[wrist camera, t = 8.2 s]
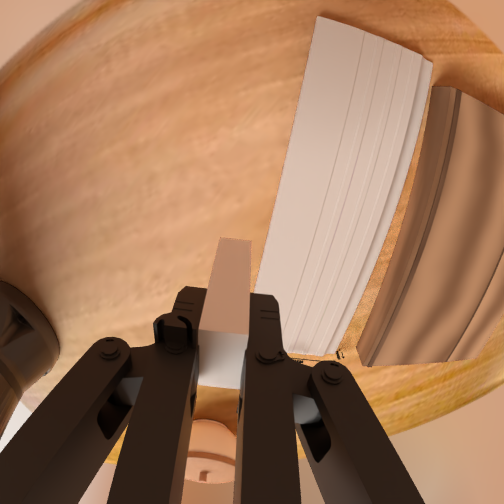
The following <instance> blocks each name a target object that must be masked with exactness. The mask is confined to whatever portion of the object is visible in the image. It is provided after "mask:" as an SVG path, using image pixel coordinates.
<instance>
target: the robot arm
mask: <svg viewBox="0 0 504 504" xmlns="http://www.w3.org/2000/svg"><path fill="white" fill-rule="evenodd" d="M250 272H251V241H249V240H240V239H231V238H222V237H220V240H219V244H218V248H217V252H216V256H215V260H214V264H213V268H212V273H211V277H210V281H209V285H208V289H206V288H198V287H190V286H185V287H184V288H183V289H182V290H181V291H180V292H178V295H177V298H176V300H175V303H174V306H173V309H172V312H171V313H167V314H163V315H161V316H159V317H158V318H156V320H155V321H154V323H153V328H154V337H155V343H154V344H152V345H149V346H144V347H132V348H130V347H129V345H128V344H127V342H125V341H124V340H122V339H121V338H116V337H106V338H103V339H100V340H98V341H97V342H95V343H94V344H93V345H92V346H91V347H90V348H89V349H88V351H87V352H86V353H85V354H84V355H83V356H82V357H81V358H80V359H79V360H78V362H77V363H76V364H75V365H74V366H73V367H72V368H71V369H70V370H69V372H68V373H67V374H66V375H65V376H64V377H63V378H62V379H61V381H60V382H59V383H58V384H57V385H56V386H55V387H54V389H53V390H52V391H51V392H50V393H49V394H48V396H47V397H46V398H45V399H44V400H43V401H42V403H41V404H40V405H39V406H38V407H37V408H36V410H35V411H34V412H33V413H32V414H31V416H30V417H29V418H28V419H27V420H26V422H25V423H24V424H23V425H22V427H21V428H20V429H19V430H18V431H17V433H16V434H15V435H14V437H13V438H12V439H11V440H10V442H9V443H8V444H7V445H6V446H5V448H4V449H3V450H2V452H1V453H0V504H78V502H79V501H80V499H81V498H82V496H83V494H84V493H85V491H86V490H87V488H88V486H89V485H90V483H91V482H92V480H93V479H94V477H95V475H96V473H97V472H98V471H99V469H100V467H101V466H102V464H103V463H104V461H105V460H106V458H107V456H108V455H109V453H110V452H111V450H112V448H113V447H114V445H115V444H116V442H117V441H118V439H119V437H120V436H121V434H122V433H123V431H124V430H125V428H126V427H127V425H128V427H127V431H126V434H125V437H124V441H123V444H122V448H121V451H120V455H119V458H118V462H117V466H116V469H115V473H114V477H113V481H112V484H111V488H110V492H109V496H108V500H107V504H181V500H182V492H183V485H184V477H185V470H186V463H187V456H188V450H189V443H190V436H191V430H192V423H193V417H194V411H195V404H196V398H197V383H198V385H204V386H212V387H221V388H231V389H240V395H239V401H238V407H237V413H238V419H237V438H236V457H235V477H234V498H233V499H234V500H233V504H301V492H300V478H299V467H298V453H297V442H296V431H297V434H298V436H299V439H300V441H301V444H302V447H303V449H304V452H305V454H306V457H307V459H308V462H309V464H310V467H311V469H312V472H313V474H314V477H315V479H316V482H317V484H318V487H319V489H320V492H321V494H322V497H323V499H324V502H325V504H425V503H424V501H423V499H422V497H421V495H420V494H419V492H418V490H417V488H416V486H415V484H414V482H413V481H412V479H411V477H410V475H409V473H408V472H407V470H406V468H405V466H404V465H403V463H402V461H401V459H400V457H399V455H398V454H397V452H396V450H395V448H394V447H393V445H392V443H391V441H390V440H389V438H388V436H387V434H386V433H385V431H384V429H383V427H382V426H381V424H380V422H379V420H378V419H377V417H376V415H375V413H374V412H373V410H372V408H371V406H370V405H369V403H368V401H367V400H366V398H365V396H364V394H363V393H362V391H361V389H360V388H359V386H358V384H357V383H356V381H355V379H354V377H353V376H352V374H351V372H350V371H349V370H348V369H347V368H346V367H345V366H344V365H342V364H341V363H339V362H335V361H321V362H319V363H317V364H316V365H315V366H314V367H310V366H307V365H303V364H301V363H298V362H296V361H294V360H293V359H291V358H290V357H289V356H288V355H287V352H286V351H285V350H284V348H283V340H282V330H281V321H280V310H279V303H278V301H277V300H276V299H275V297H274V296H273V295H268V294H258V293H250ZM58 357H59V344H58V341H57V338H56V335H55V333H54V331H53V329H52V327H51V326H50V324H49V322H48V321H47V319H46V318H45V317H44V315H43V314H42V313H41V311H40V310H39V309H38V308H37V307H36V306H35V304H34V303H33V302H32V301H31V300H30V299H29V298H27V297H26V296H25V295H24V294H23V293H22V292H20V291H19V290H18V289H16V288H15V287H13V286H11V285H9V284H7V283H5V282H2V281H0V439H1V437H2V435H3V433H4V430H5V429H6V426H7V424H8V422H9V420H10V418H11V416H12V414H13V412H14V410H15V408H16V406H17V404H18V402H19V400H20V399H21V397H22V395H23V393H24V392H25V391H26V390H27V389H28V388H30V387H31V386H32V385H33V384H34V383H35V382H36V381H38V380H39V379H40V378H41V377H42V376H45V375H46V374H48V373H49V372H50V371H51V370H52V368H53V366H54V365H55V363H56V361H57V360H58ZM128 423H129V424H128ZM295 429H296V430H295Z"/></svg>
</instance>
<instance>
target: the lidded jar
mask: <svg viewBox="0 0 504 504" xmlns="http://www.w3.org/2000/svg"><path fill="white" fill-rule="evenodd" d="M235 457H236V437H235V436H234V434H233V433H232V432H231V431H229V430H228V428H227V427H226V426H225V425H224V424H222V423H220V422H218V421H214V420H209V419H198V420H194V421H193V423H192V430H191V436H190V443H189V450H188V456H187V463H186V470H185V477H184V478H185V479H188V480H191V481H196V482H201V483H227V482H232V481H234V477H235Z"/></svg>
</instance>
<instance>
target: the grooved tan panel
mask: <svg viewBox="0 0 504 504" xmlns="http://www.w3.org/2000/svg"><path fill="white" fill-rule="evenodd" d="M503 314H504V115H503V114H502V113H500V112H498V111H497V110H495V109H493V108H491V107H490V106H488V105H486V104H484V103H483V102H481V101H479V100H477V99H475V98H473V97H471V96H469V95H467V94H465V93H463V92H462V91H460V90H458V89H455V88H453V87H445V86H432V91H431V98H430V105H429V111H428V117H427V123H426V128H425V134H424V139H423V144H422V149H421V153H420V158H419V162H418V167H417V171H416V175H415V179H414V183H413V187H412V191H411V195H410V199H409V202H408V206H407V210H406V213H405V216H404V220H403V223H402V227H401V230H400V233H399V236H398V239H397V243H396V246H395V249H394V252H393V255H392V258H391V261H390V263H389V266H388V269H387V272H386V275H385V277H384V280H383V283H382V286H381V288H380V291H379V293H378V296H377V299H376V301H375V304H374V306H373V309H372V311H371V314H370V316H369V318H368V321H367V323H366V326H365V328H364V330H363V333H362V335H361V337H360V339H359V342H358V344H357V346H356V349H357V352H358V354H359V357H360V360H361V363H362V366H367V367H372V366H390V365H411V364H426V363H438V362H449V361H459V360H468V359H476V358H477V357H478V355H479V354H480V352H481V351H482V349H483V348H484V346H485V344H486V343H487V341H488V340H489V338H490V336H491V335H492V333H493V331H494V330H495V328H496V326H497V324H498V323H499V321H500V319H501V317H502V316H503Z"/></svg>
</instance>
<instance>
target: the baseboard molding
mask: <svg viewBox="0 0 504 504" xmlns="http://www.w3.org/2000/svg"><path fill="white" fill-rule="evenodd" d="M432 68H433V63H432V62H430V61H428V60H426V59H425V58H424V57H423V56H422V55H420V54H418V53H416V52H414V51H411V50H409V49H407V48H405V47H403V46H401V45H399V44H396V43H393V42H391V41H389V40H386V39H384V38H382V37H380V36H376V35H374V34H371V33H368V32H366V31H364V30H361V29H358V28H355V27H353V26H350V25H347V24H343V23H340V22H337V21H334V20H331V19H327V18H324V17H320V16H317V18H316V23H315V27H314V32H313V36H312V41H311V46H310V50H309V55H308V59H307V64H306V69H305V73H304V78H303V82H302V87H301V91H300V96H299V100H298V104H297V109H296V113H295V118H294V122H293V127H292V131H291V135H290V140H289V144H288V149H287V153H286V157H285V162H284V166H283V170H282V175H281V179H280V183H279V187H278V192H277V196H276V200H275V205H274V209H273V213H272V217H271V222H270V226H269V230H268V234H267V238H266V243H265V247H264V251H263V255H262V259H261V264H260V268H259V272H258V276H257V280H256V284H255V288H254V293H258V294H268V295H273V296H274V297H275V299H276V300H277V301H278V303H279V310H280V321H281V330H282V340H283V348H284V350H285V351H286V352H287V353H299V354H303V355H306V354H308V355H316V356H324V355H325V354H328V353H330V354H335V352H336V350H337V348H338V346H339V344H340V342H341V340H342V338H343V336H344V333H345V331H346V329H347V327H348V325H349V323H350V321H351V319H352V317H353V315H354V312H355V310H356V308H357V306H358V304H359V301H360V299H361V297H362V295H363V292H364V290H365V288H366V285H367V283H368V281H369V278H370V276H371V273H372V271H373V269H374V266H375V264H376V261H377V259H378V256H379V254H380V251H381V248H382V246H383V243H384V241H385V238H386V235H387V233H388V230H389V227H390V224H391V221H392V219H393V216H394V213H395V210H396V207H397V204H398V201H399V198H400V195H401V192H402V189H403V186H404V183H405V179H406V176H407V173H408V169H409V166H410V163H411V159H412V156H413V152H414V148H415V145H416V141H417V137H418V133H419V129H420V125H421V121H422V117H423V112H424V108H425V104H426V99H427V94H428V89H429V84H430V79H431V74H432ZM336 354H337V358H338V359H340V356H339V353H338V352H337V353H336ZM342 355H343V354H342ZM342 358H344V357H342ZM291 359H297V358H291ZM301 360H307V359H301ZM301 360H300V361H299V360H297V362H298V363H303V361H302V362H301ZM295 361H296V360H295ZM311 361H318V360H311ZM335 362H336V361H335Z"/></svg>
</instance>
